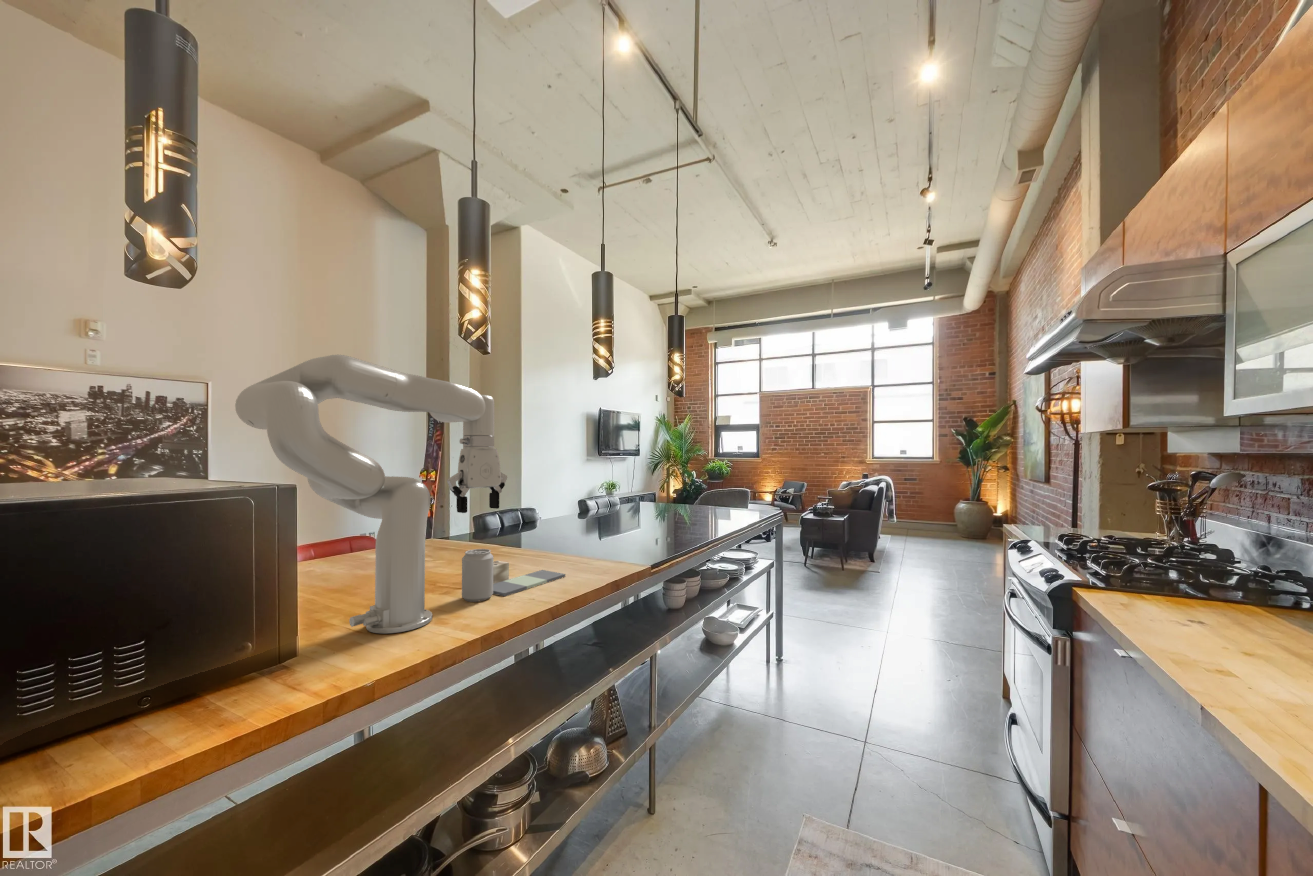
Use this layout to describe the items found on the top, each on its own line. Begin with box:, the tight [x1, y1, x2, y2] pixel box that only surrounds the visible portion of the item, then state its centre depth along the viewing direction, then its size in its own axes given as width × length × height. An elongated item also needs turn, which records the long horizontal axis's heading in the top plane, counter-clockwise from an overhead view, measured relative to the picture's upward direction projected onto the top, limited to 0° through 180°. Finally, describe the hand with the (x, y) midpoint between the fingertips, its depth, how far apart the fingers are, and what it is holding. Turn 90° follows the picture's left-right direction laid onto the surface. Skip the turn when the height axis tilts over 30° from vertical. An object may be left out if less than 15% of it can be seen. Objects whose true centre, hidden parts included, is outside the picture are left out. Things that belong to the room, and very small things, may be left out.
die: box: [493, 560, 510, 584], centre depth 138 cm, size 5×5×5 cm
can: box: [461, 548, 494, 603], centre depth 122 cm, size 8×8×12 cm
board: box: [492, 569, 566, 597], centre depth 135 cm, size 22×10×1 cm, turn 148°
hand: (478, 510), depth 122 cm, fingers open, 9 cm apart
